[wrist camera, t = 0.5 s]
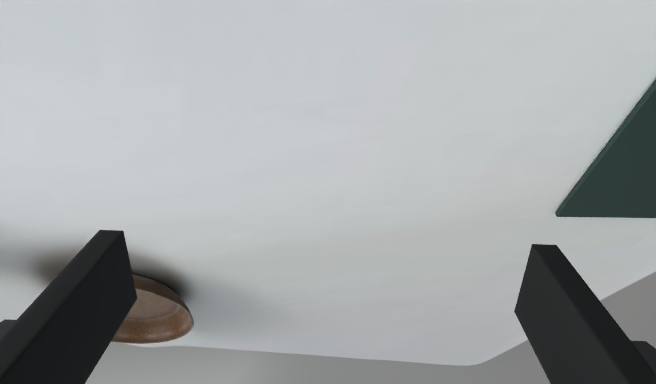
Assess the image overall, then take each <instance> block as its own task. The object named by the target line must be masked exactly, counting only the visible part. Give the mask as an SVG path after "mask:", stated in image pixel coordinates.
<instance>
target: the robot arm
mask: <svg viewBox="0 0 656 384" xmlns="http://www.w3.org/2000/svg"><path fill="white" fill-rule="evenodd" d="M136 300H137V294H136V289H135V285H134V280H133V275H132V270H131V266H130V261H129V256H128V251H127V246H126V242H125V237H124V232H123V231H113V230H99V231H98V232H97V234H96V235H95V236H94V237H93V238H92V239H91V240H90V241H89V242H88V243H87V244H86V245H85V247H84V248H83V249H82V250H81V251H80V252H79V253H78V254H77V255H76V256H75V257H74V258H73V260H72V261H71V262H70V263H69V264H68V265H67V266H66V267H65V268H64V269H63V270H62V271H61V273H60V274H59V275H58V276H57V277H56V278H55V279H54V280H53V281H52V282H51V283H50V284H49V286H48V287H47V288H46V289H45V290H44V291H43V292H42V293H41V294H40V295H39V296H38V297H37V299H36V300H35V301H34V302H33V303H32V304H31V305H30V306H29V307H28V308H27V309H26V310H25V312H24V313H23V314H22V315H21V316H20V317H19V318H18V319H17V320H4V321H2V322H0V384H85V382H86V381H87V379H88V377H89V376H90V374H91V373H92V371H93V369H94V367H95V366H96V365H97V363H98V361H99V360H100V358H101V356H102V355H103V353H104V351H105V350H106V348H107V347H108V345H109V343H110V342H111V340H112V339H113V337H114V335H115V334H116V332H117V331H118V329H119V327H120V326H121V324H122V322H123V321H124V319H125V318H126V316H127V314H128V313H129V311H130V310H131V308H132V306H133V305H134V303H135V301H136ZM514 312H515V314H516V316H517V318H518V320H519V322H520V324H521V326H522V328H523V330H524V332H525V334H526V336H527V338H528V340H529V342H530V343H531V345H532V348H533V350H534V352H535V354H536V355H537V357H538V359H539V361H540V363H541V365H542V367H543V369H544V371H545V373H546V375H547V377H548V379H549V381H550V383H551V384H656V349H655V348H654V347H653V346H651V345H650V344H648V343H647V342H645V341H630V340H629V338H628V337H627V336H626V334H625V333H624V332H623V331H622V329H621V328H620V327H619V325H618V324H617V323H616V321H615V320H614V319H613V318H612V316H611V315H610V314H609V312H608V311H607V310H606V309H605V307H604V306H603V305H602V303H601V302H600V301H599V300H598V298H597V297H596V296H595V294H594V293H593V292H592V290H591V289H590V288H589V287H588V285H587V284H586V283H585V281H584V280H583V279H582V278H581V276H580V275H579V274H578V272H577V271H576V270H575V268H574V267H573V266H572V265H571V263H570V262H569V261H568V259H567V258H566V257H565V256H564V254H563V253H562V252H561V250H560V249H559V248H558V247H557V245H539V244H532V247H531V251H530V254H529V258H528V262H527V266H526V270H525V273H524V277H523V281H522V285H521V289H520V292H519V296H518V300H517V304H516V308H515V311H514Z"/></svg>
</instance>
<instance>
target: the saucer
mask: <svg viewBox="0 0 656 384" xmlns="http://www.w3.org/2000/svg"><path fill="white" fill-rule="evenodd" d="M132 275H133V280H134V285H135V289H136V294H137V300H136V301H135V303H134V305H133V306H132V308H131V310H130V311H129V313H128V314H127V316H126V318H125V319H124V321H123V322H122V324H121V326H120V327H119V329H118V331H117V332H116V334H115V335H114V337H113V339H112V340H111V341H113V342H121V343H137V344H144V343H158V342H165V341H170V340H174V339H177V338H180V337H182V336H184V335H186V334H187V333H188V332H189V331H190V330H191V329H192V327H193V324H194V321H193V318H192V316H191V313H190V311H189V309H188V308H187V306H186V305H185V303H184V302H183V301H182V300H181V298H180V297H179V296H178V295H177V294H176V293H175V292H174V291H172V290H171V289H170V288H168V287H167V286H165V285H163V284H161V283H159V282H157V281H155V280H152V279H149V278H146V277H142V276H138V275H134V274H132Z"/></svg>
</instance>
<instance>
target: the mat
mask: <svg viewBox="0 0 656 384" xmlns="http://www.w3.org/2000/svg"><path fill="white" fill-rule="evenodd" d="M555 214H556V216H557V217H625V218H656V80H655V82H654V83H653V84H652V86H651V87H650V88H649V90H648V91H647V92H646V94H645V95H644V96H643V98H642V99H641V100H640V101H639V103H638V104H637V105H636V107H635V108H634V109H633V111H632V112H631V113H630V115H629V116H628V117H627V119H626V120H625V121H624V123H623V124H622V125H621V127H620V128H619V129H618V131H617V132H616V133H615V135H614V136H613V137H612V138H611V140H610V141H609V142H608V144H607V145H606V146H605V148H604V149H603V150H602V152H601V153H600V154H599V156H598V157H597V158H596V160H595V161H594V162H593V164H592V165H591V166H590V168H589V169H588V170H587V172H586V173H585V174H584V176H583V177H582V178H581V179H580V181H579V182H578V183H577V185H576V186H575V187H574V189H573V190H572V191H571V193H570V194H569V195H568V197H567V198H566V199H565V201H564V202H563V203H562V205H561V206H560V207H559V209H558V210H557V211H556V213H555Z"/></svg>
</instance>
